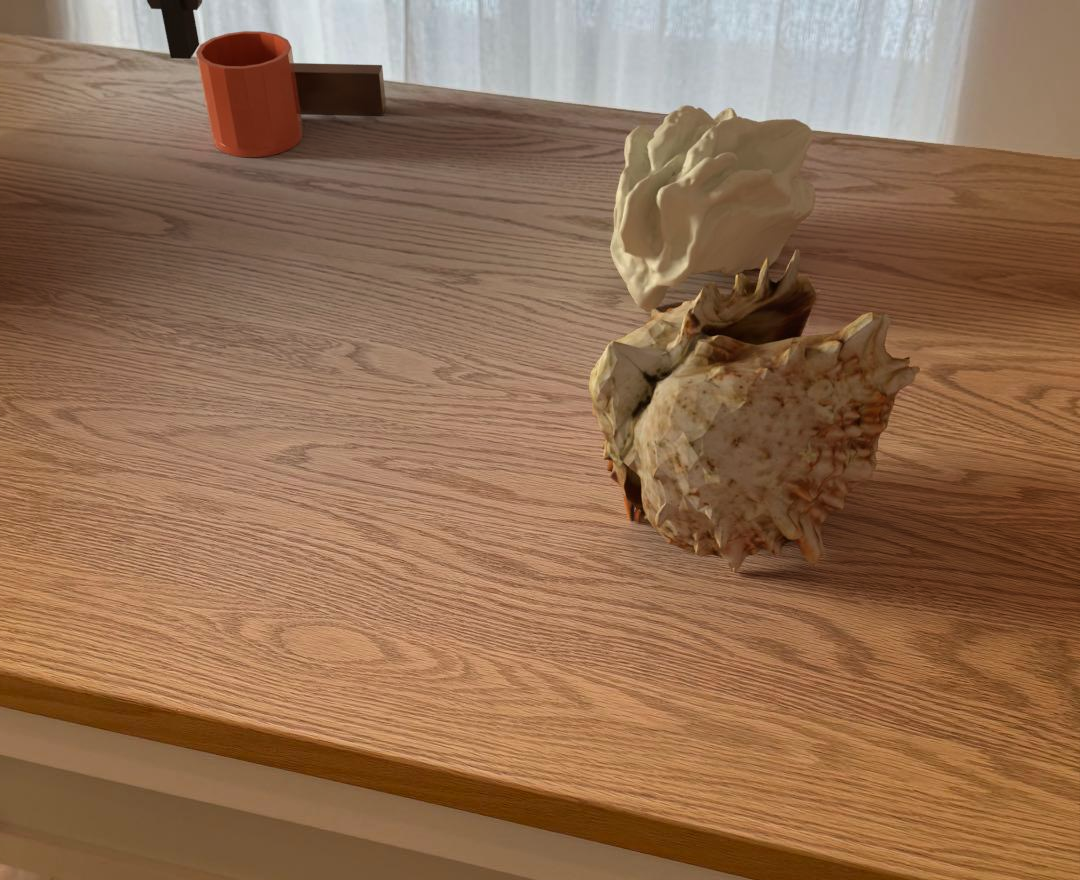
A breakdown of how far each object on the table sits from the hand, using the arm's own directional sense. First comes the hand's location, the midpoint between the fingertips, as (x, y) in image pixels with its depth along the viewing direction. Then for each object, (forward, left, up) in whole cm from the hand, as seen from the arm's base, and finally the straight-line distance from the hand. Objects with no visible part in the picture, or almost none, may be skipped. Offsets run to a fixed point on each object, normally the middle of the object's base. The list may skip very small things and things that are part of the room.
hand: (185, 50), depth 94 cm
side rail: (+4, +19, -13) cm, 24 cm away
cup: (+1, +13, -13) cm, 19 cm away
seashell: (+40, -36, -13) cm, 56 cm away
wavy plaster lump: (+39, -7, -13) cm, 42 cm away
